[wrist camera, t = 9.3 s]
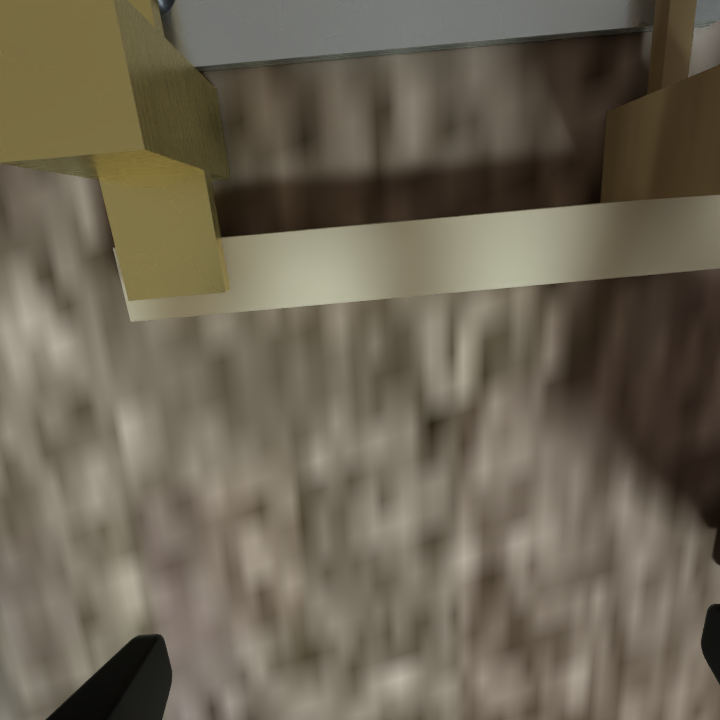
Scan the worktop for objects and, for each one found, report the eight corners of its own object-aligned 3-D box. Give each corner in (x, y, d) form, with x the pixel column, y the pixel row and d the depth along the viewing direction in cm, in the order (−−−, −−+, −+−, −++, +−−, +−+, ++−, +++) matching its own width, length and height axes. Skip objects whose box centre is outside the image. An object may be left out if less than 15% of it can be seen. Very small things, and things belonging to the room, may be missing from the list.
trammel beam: (720, -76, 14) (976, -277, 8) (678, 261, 17) (843, 281, 11) (86, -18, 14) (-91, -181, 8) (159, 308, 17) (65, 352, 11)
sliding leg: (188, -80, 14) (35, -372, 7) (246, 279, 17) (180, 319, 10) (90, -71, 14) (-161, -354, 7) (167, 286, 17) (47, 331, 10)
